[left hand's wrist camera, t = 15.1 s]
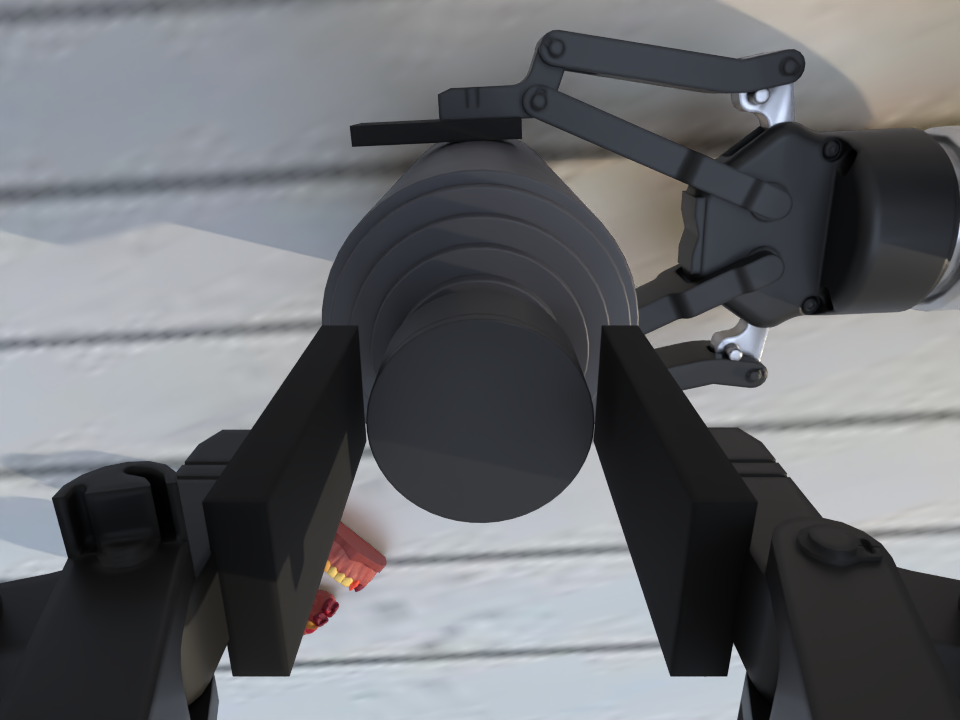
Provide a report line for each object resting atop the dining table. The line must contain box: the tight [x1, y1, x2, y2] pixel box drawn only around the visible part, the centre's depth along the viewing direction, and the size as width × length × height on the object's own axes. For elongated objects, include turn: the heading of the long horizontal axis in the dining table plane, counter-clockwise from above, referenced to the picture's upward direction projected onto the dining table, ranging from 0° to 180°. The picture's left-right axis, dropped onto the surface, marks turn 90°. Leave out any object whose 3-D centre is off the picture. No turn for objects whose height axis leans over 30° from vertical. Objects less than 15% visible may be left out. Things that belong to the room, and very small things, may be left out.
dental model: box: [303, 522, 386, 635], centre depth 40 cm, size 6×4×8 cm
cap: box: [366, 289, 594, 523], centre depth 14 cm, size 4×4×2 cm
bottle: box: [322, 139, 639, 424], centre depth 24 cm, size 8×8×23 cm
